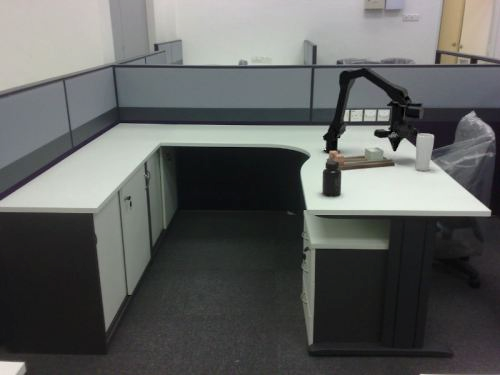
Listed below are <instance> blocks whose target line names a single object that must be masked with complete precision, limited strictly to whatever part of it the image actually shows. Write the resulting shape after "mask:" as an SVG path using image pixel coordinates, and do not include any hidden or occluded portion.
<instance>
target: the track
mask: <svg viewBox="0 0 500 375" xmlns="http://www.w3.org/2000/svg"><path fill="white" fill-rule="evenodd" d="M327 161H337V162H339V168H338V169H340V170H341V171H350V170H362V169H374V168H385V167H395V161H393V159H392V158H387V157H385V156H384V155H383V159H382V160H370V161H369V160H367V159H365V154H364V155H352V156H344V155H343V154H341V153H338V152H337V151H329V153H328V158H326V162H327Z"/></svg>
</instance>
